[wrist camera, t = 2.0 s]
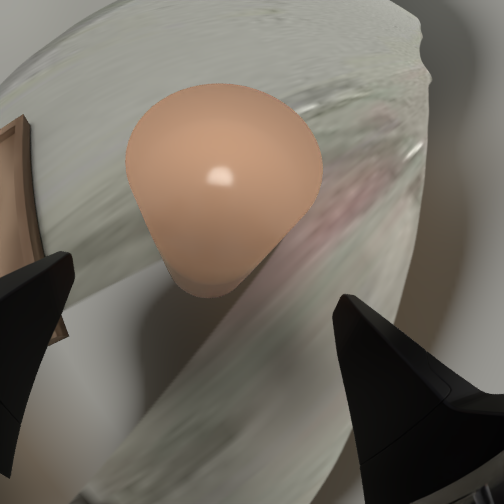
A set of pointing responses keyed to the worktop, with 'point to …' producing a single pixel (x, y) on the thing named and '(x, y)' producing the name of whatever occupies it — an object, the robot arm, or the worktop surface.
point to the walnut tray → (19, 206)
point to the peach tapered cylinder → (221, 181)
